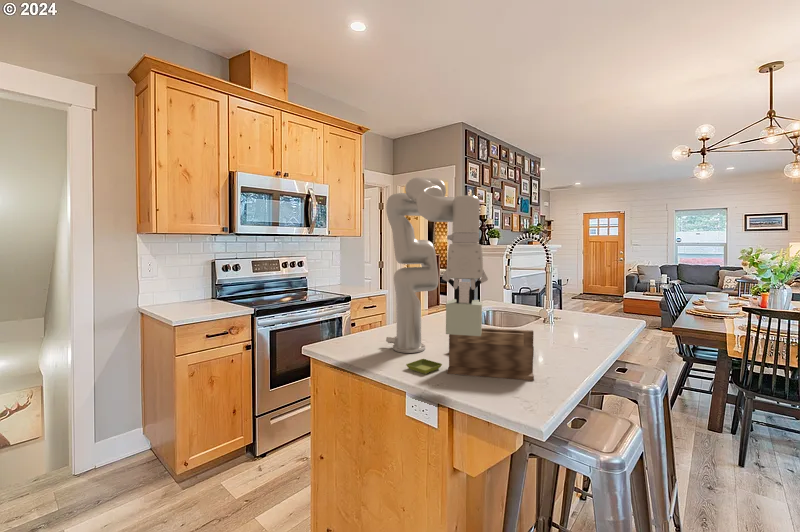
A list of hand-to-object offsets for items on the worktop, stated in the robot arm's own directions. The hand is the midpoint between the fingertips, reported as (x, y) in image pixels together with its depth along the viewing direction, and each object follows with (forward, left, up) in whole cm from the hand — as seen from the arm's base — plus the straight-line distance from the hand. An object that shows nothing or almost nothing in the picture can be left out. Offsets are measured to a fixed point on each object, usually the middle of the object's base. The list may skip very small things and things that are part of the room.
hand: (464, 301), depth 116 cm
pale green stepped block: (0, +2, -9) cm, 9 cm away
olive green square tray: (-14, +10, -25) cm, 30 cm away
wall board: (+7, +10, -24) cm, 27 cm away
